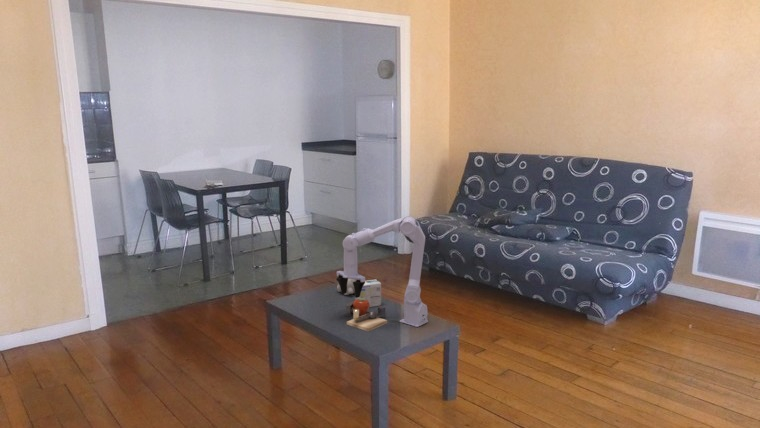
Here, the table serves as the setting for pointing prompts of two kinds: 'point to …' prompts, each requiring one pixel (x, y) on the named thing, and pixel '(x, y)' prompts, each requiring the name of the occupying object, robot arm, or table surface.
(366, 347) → the table surface
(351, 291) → the round bodied animal figurine
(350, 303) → the anvil
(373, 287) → the light bulb box
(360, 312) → the tomato
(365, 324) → the board
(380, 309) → the lever
